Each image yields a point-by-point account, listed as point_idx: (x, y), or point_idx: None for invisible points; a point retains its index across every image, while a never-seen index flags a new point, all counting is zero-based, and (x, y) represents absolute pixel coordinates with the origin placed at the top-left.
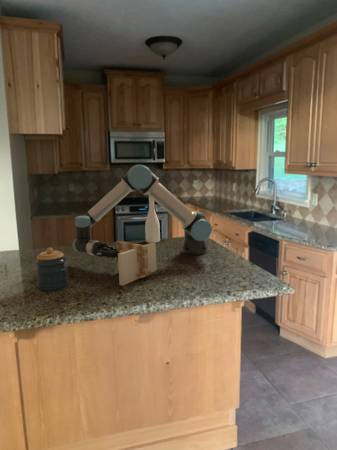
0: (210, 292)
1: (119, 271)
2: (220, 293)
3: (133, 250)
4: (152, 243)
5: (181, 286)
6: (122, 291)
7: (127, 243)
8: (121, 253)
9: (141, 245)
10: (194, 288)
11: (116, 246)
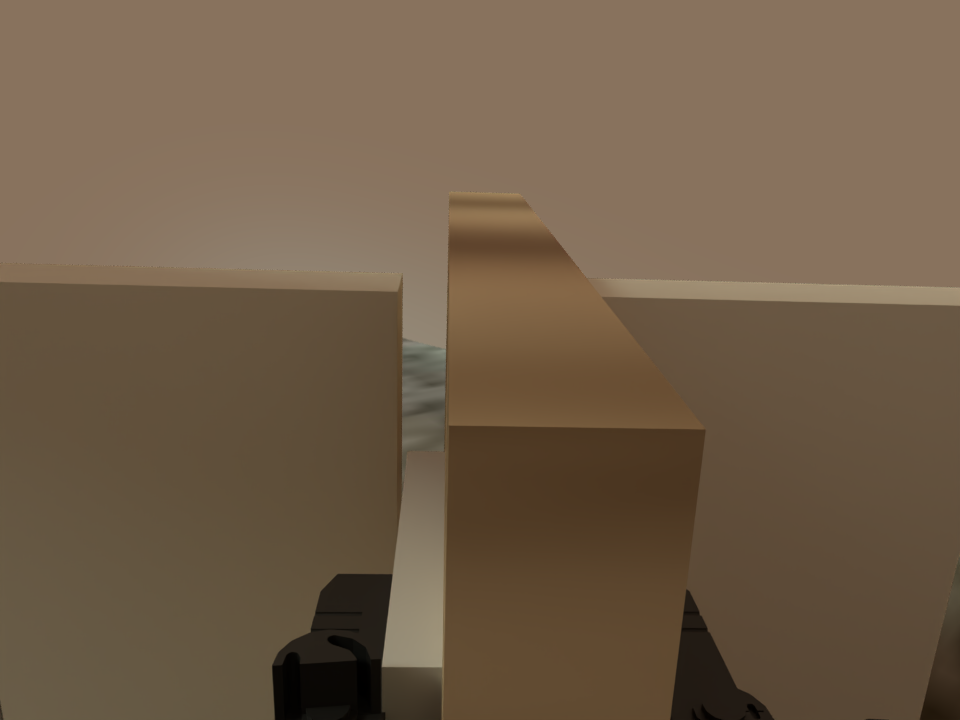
0: (435, 366)
1: (937, 598)
2: (420, 350)
3: (653, 281)
4: (41, 269)
5: (444, 442)
6: (942, 648)
7: (552, 261)
8: (940, 296)
9: (493, 202)
10: (429, 404)
11: (671, 664)
